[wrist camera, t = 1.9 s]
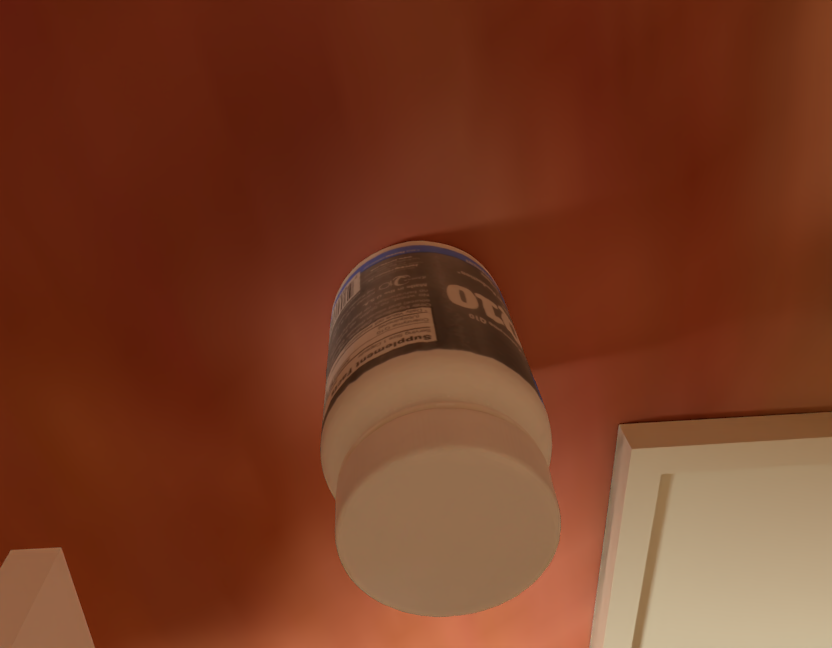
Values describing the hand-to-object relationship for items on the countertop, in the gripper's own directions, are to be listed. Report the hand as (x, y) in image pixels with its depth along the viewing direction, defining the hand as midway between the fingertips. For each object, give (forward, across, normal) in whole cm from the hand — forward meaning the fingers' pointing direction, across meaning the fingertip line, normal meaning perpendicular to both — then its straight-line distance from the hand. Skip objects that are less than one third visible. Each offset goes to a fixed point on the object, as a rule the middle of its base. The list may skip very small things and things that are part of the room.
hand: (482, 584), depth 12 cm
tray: (+10, +11, -10) cm, 18 cm away
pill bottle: (+10, -1, 0) cm, 10 cm away
